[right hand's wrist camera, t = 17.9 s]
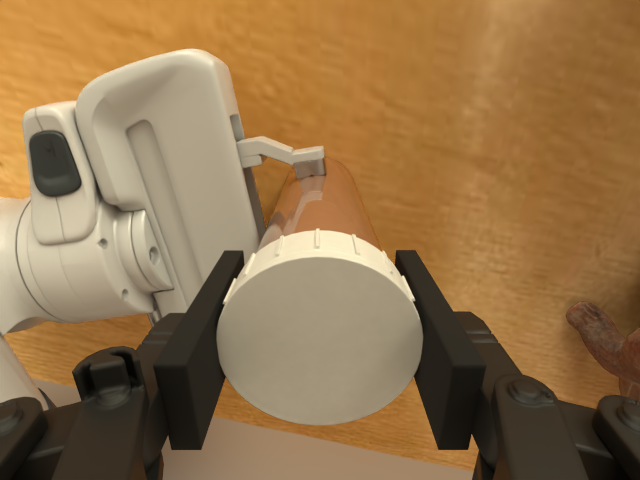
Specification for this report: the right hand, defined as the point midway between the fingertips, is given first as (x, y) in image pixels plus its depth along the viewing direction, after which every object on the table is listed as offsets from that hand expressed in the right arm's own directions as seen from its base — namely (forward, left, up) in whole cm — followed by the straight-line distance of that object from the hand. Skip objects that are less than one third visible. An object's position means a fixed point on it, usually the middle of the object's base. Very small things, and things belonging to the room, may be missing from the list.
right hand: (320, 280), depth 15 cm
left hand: (-1, 0, -8) cm, 8 cm away
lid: (0, 0, +4) cm, 4 cm away
